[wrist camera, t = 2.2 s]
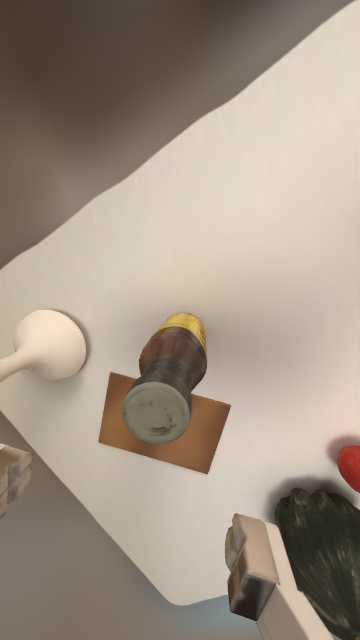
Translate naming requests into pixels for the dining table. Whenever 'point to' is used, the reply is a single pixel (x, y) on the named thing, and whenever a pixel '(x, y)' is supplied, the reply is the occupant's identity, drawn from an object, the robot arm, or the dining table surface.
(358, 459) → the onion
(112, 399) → the cork mat
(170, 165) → the dining table surface
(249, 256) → the dining table surface
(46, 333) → the flower in vase
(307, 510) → the squash
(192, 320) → the sauce bottle
